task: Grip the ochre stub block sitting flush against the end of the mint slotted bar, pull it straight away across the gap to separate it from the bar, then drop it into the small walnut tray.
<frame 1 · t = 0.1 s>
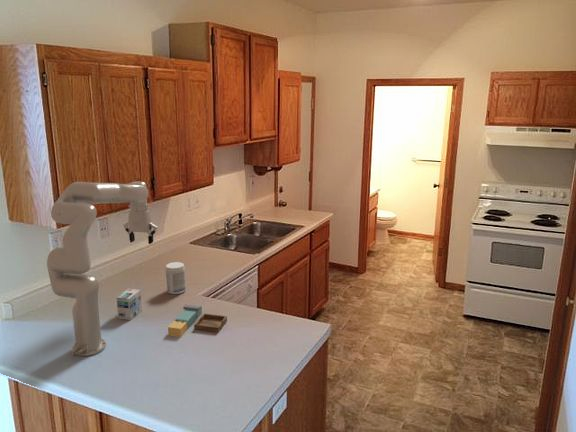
hand: (141, 242, 222), 31 cm above the worktop, fingers open, 9 cm apart
light bulb box: (130, 315, 217), on the worktop
tray: (210, 325, 208), on the worktop
supplement tub: (176, 291, 244), on the worktop
stub: (177, 333, 201), on the worktop
mint slotted bar: (188, 320, 212), on the worktop
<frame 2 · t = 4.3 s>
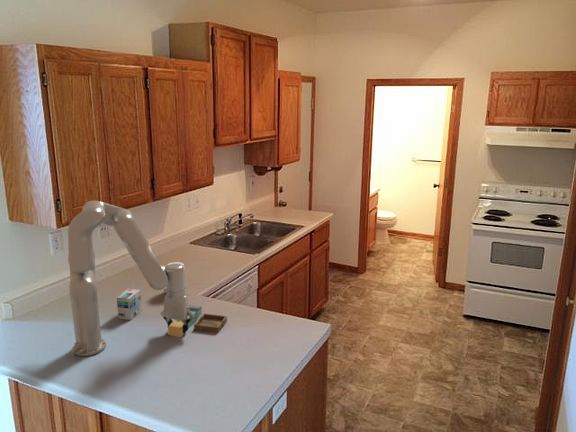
hand: (178, 330, 201), 1 cm above the worktop, fingers closed on stub, 6 cm apart
stub: (178, 332, 201), on the worktop, touching gripper
everything else where it was.
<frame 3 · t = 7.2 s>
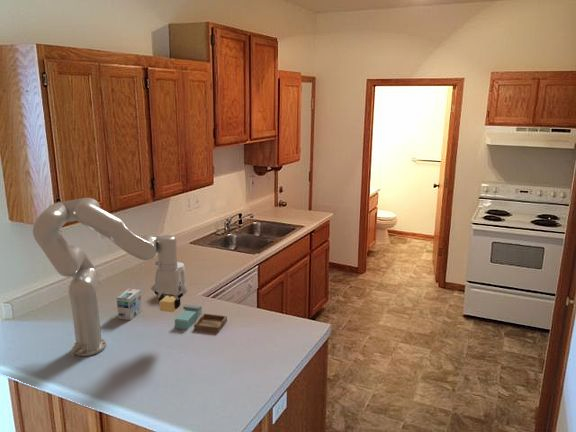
hand: (169, 306, 191), 15 cm above the worktop, fingers closed on stub, 6 cm apart
stub: (169, 308, 192), point 14 cm above the worktop, touching gripper
everything else where it was.
when the fingers open (4 cm above the worktop, at t = 10.5 s): stub drops 2 cm, resting on tray.
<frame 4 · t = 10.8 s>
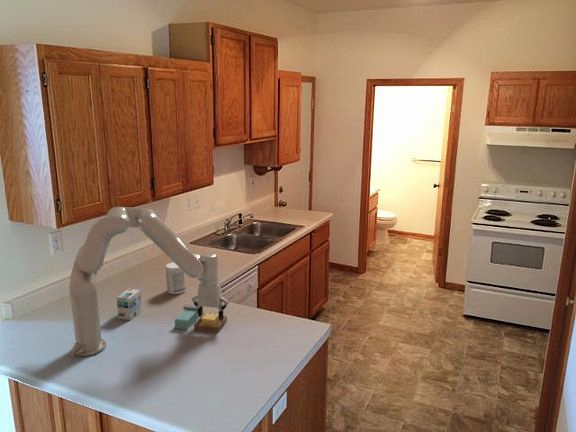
hand: (210, 316, 207), 4 cm above the worktop, fingers open, 9 cm apart
stub: (210, 324, 208), point 1 cm above the worktop, touching tray
everything else where it was.
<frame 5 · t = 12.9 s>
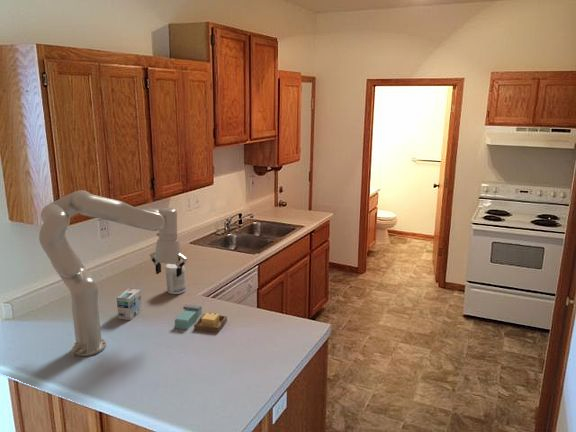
hand: (168, 274, 202), 24 cm above the worktop, fingers open, 9 cm apart
nothing on the worktop moved.
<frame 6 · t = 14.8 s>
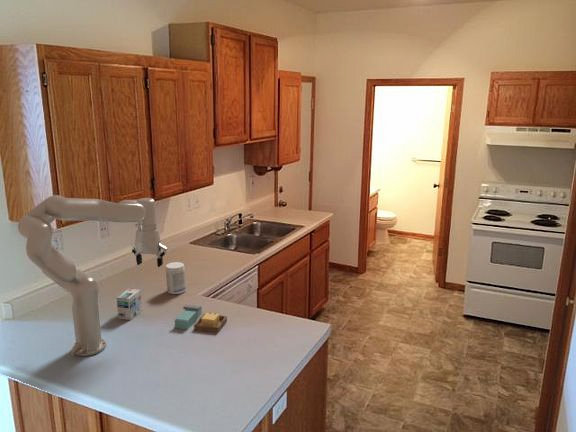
hand: (149, 264, 201), 28 cm above the worktop, fingers open, 9 cm apart
nothing on the worktop moved.
at the end: stub inside the target area on the tray (0.1 cm from its centre), point 0.6 cm above the tray's base; stub touching tray; the gripper is holding nothing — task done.
